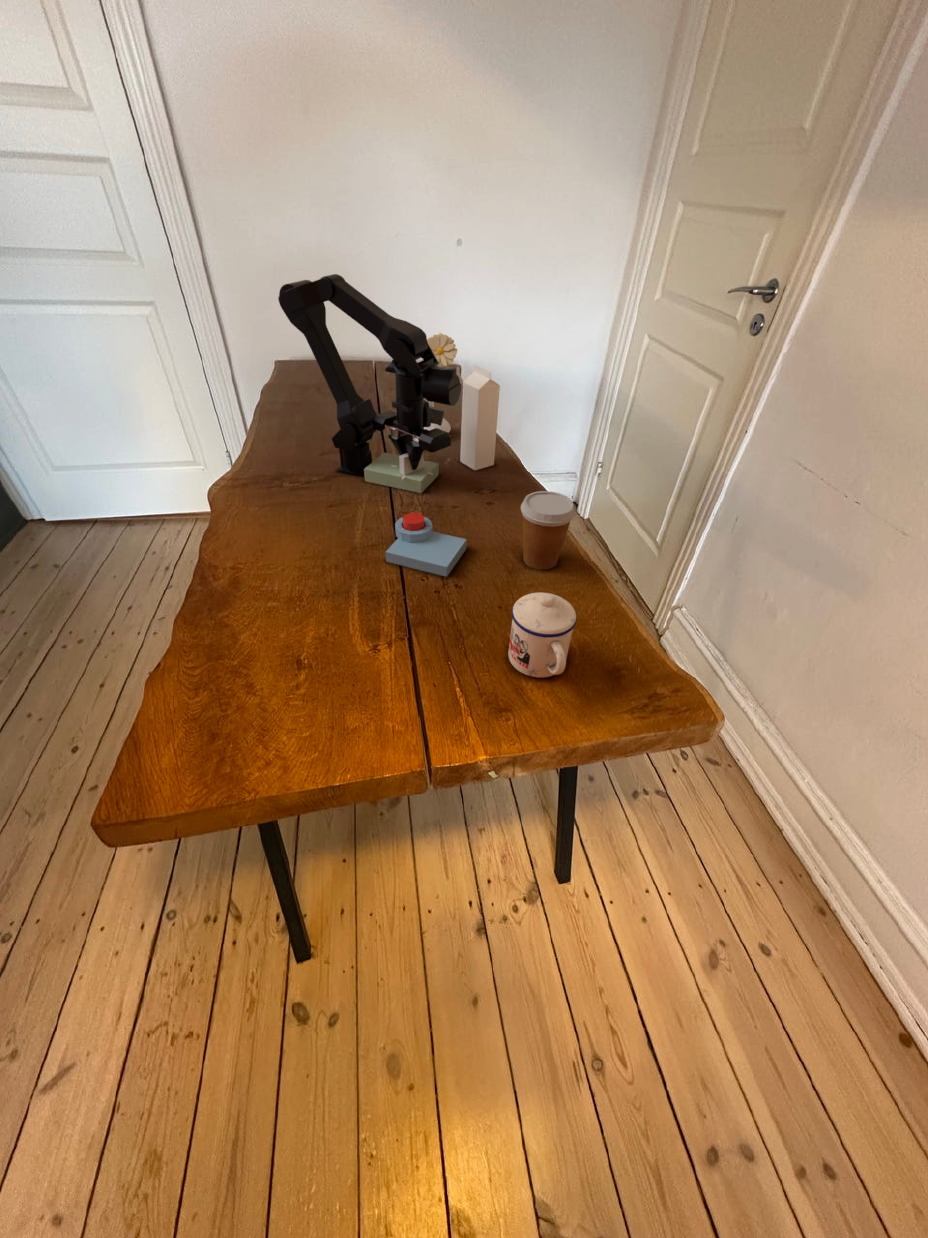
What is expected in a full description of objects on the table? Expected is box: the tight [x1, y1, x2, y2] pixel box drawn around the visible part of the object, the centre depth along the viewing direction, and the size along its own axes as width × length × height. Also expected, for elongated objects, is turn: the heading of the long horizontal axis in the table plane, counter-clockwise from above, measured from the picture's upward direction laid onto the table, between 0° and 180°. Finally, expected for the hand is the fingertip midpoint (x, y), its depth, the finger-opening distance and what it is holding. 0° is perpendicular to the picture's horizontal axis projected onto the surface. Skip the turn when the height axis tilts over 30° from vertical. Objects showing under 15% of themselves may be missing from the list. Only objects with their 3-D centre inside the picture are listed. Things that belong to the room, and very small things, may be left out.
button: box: [402, 512, 425, 531], centre depth 103 cm, size 4×4×2 cm
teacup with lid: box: [507, 592, 578, 678], centre depth 77 cm, size 12×9×12 cm
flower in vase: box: [424, 332, 458, 434], centre depth 139 cm, size 13×11×25 cm
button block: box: [385, 516, 468, 577], centre depth 102 cm, size 13×12×4 cm
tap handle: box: [399, 450, 425, 475], centre depth 121 cm, size 6×2×4 cm, turn 138°
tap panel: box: [363, 452, 440, 494], centre depth 125 cm, size 15×11×3 cm
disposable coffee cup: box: [520, 490, 576, 571], centre depth 99 cm, size 10×10×12 cm
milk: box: [459, 364, 501, 471], centre depth 127 cm, size 6×6×22 cm
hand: (411, 468), depth 122 cm, fingers closed on tap handle, 2 cm apart
